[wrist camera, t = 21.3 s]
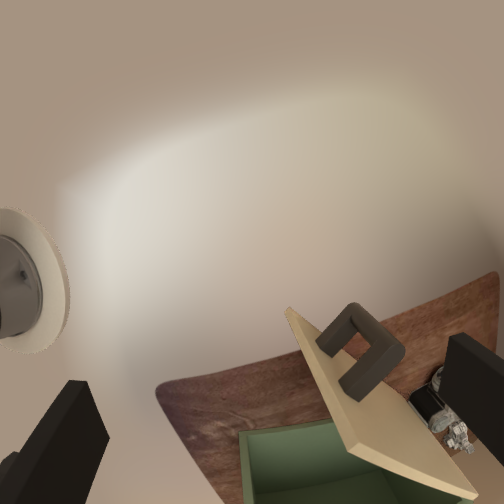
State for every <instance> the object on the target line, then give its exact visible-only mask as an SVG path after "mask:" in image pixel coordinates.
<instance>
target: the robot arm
mask: <svg viewBox="0 0 504 504" xmlns="http://www.w3.org/2000/svg"><path fill="white" fill-rule="evenodd" d="M42 306H43V289H42V283H41V279H40V276H39V273H38V270H37V267H36V265H35V263H34V261H33V259H32V258H31V256H30V255H29V253H28V252H27V250H26V249H25V248H24V247H23V246H22V245H21V244H20V243H19V242H18V241H16V240H15V239H13V238H11V237H9V236H6V235H0V339H3V338H6V337H12V338H17V337H19V336H22V335H25V334H23V333H25V332H27V331H28V330H29V329H31V328H32V327H33V326H34V325H35V324H36V322H37V321H38V319H39V317H40V314H41V311H42ZM437 395H438V396H439V397H440V398H441V399H442V400H443V401H444V402H445V403H446V404H447V405H448V406H449V407H450V408H451V409H452V411H453V412H454V413H455V414H456V415H457V416H458V417H459V418H460V419H461V420H462V421H463V422H464V423H465V424H466V426H467V427H468V428H469V429H470V430H471V431H472V432H473V433H474V434H475V435H476V436H477V438H478V439H479V440H480V441H481V442H482V443H483V444H484V445H485V446H486V447H487V449H488V450H489V451H490V452H491V453H492V454H493V455H494V456H495V457H496V459H497V460H498V461H499V462H500V463H501V464H502V465H503V466H504V360H503V359H502V358H500V357H499V356H497V355H496V354H495V353H493V352H492V351H490V350H489V349H487V348H486V347H485V346H483V345H482V344H480V343H479V342H477V341H476V340H474V339H473V338H471V337H470V336H469V335H467V334H466V333H464V332H462V333H459V334H456V335H452V336H449V341H448V347H447V352H446V357H445V362H444V367H443V372H442V376H441V381H440V385H439V389H438V393H437ZM109 439H110V437H109V435H108V433H107V430H106V428H105V426H104V423H103V421H102V419H101V416H100V414H99V412H98V409H97V407H96V404H95V402H94V399H93V396H92V394H91V391H90V388H89V386H88V383H87V381H75V380H69V381H68V382H67V384H66V385H65V386H64V388H63V389H62V390H61V392H60V394H59V395H58V396H57V397H56V399H55V400H54V402H53V403H52V405H51V406H50V408H49V409H48V410H47V412H46V413H45V415H44V417H43V418H42V419H41V420H40V422H39V424H38V425H37V426H36V428H35V429H34V431H33V433H32V434H31V435H30V437H29V438H28V440H27V441H26V443H25V445H24V446H23V448H22V449H21V451H20V452H19V453H18V452H13V453H11V454H10V455H9V456H7V457H6V458H5V459H4V460H3V461H2V462H1V464H0V504H85V503H86V500H87V497H88V494H89V491H90V489H91V486H92V483H93V480H94V478H95V475H96V472H97V470H98V467H99V465H100V462H101V459H102V457H103V454H104V452H105V449H106V446H107V444H108V442H109Z"/></svg>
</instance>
